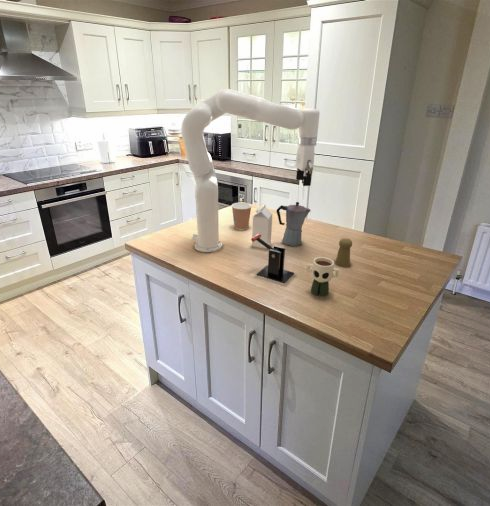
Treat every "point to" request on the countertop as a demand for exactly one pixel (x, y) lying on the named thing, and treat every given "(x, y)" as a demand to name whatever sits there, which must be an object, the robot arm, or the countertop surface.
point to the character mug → (322, 275)
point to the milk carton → (262, 226)
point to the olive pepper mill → (344, 253)
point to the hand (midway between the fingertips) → (303, 182)
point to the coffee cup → (241, 215)
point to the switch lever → (263, 242)
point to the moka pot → (293, 223)
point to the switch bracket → (276, 266)
